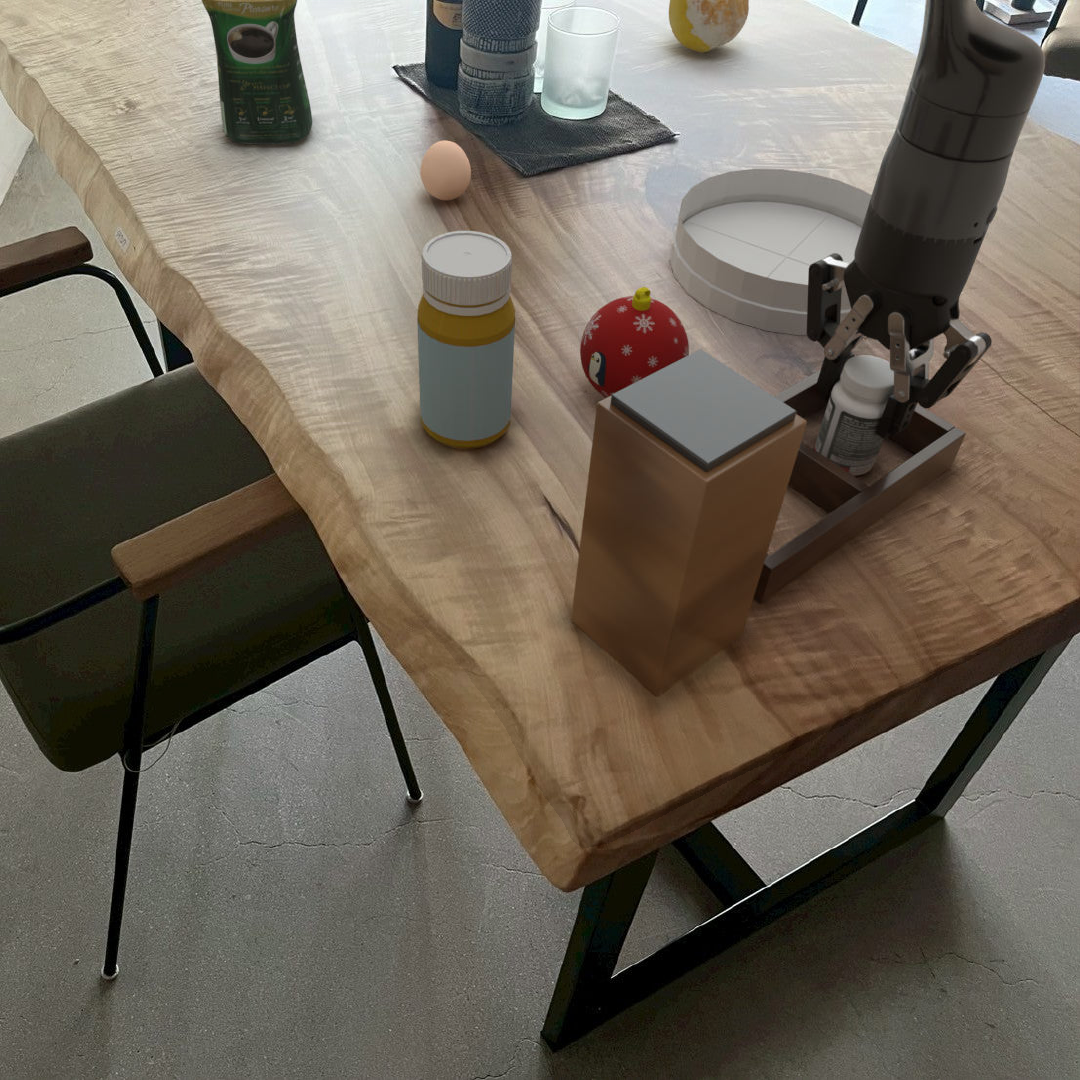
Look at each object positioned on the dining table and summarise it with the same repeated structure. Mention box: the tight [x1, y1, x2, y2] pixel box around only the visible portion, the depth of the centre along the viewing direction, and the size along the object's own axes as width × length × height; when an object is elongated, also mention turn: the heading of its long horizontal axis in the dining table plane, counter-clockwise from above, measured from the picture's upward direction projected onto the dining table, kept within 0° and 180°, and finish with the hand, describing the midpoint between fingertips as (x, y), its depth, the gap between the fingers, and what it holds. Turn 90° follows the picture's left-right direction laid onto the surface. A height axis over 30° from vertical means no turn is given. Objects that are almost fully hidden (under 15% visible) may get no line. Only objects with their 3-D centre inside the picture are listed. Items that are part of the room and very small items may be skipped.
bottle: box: [416, 230, 516, 450], centre depth 77 cm, size 7×7×15 cm
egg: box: [420, 140, 472, 201], centre depth 105 cm, size 5×5×6 cm
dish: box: [669, 168, 872, 336], centre depth 100 cm, size 22×22×5 cm
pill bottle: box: [813, 354, 894, 477], centre depth 79 cm, size 5×5×8 cm
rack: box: [753, 369, 967, 605], centre depth 78 cm, size 12×23×4 cm, turn 131°
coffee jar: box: [201, 0, 313, 145], centre depth 109 cm, size 10×8×19 cm
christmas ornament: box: [579, 286, 690, 399], centre depth 82 cm, size 9×9×10 cm
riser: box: [570, 396, 808, 698], centre depth 62 cm, size 8×8×18 cm
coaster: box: [611, 348, 797, 472], centre depth 56 cm, size 7×7×1 cm
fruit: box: [668, 0, 750, 53], centre depth 137 cm, size 10×11×10 cm
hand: (858, 414), depth 79 cm, fingers closed on pill bottle, 4 cm apart
